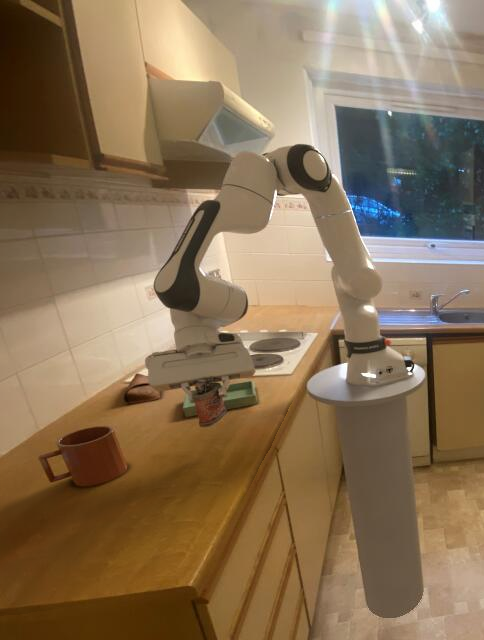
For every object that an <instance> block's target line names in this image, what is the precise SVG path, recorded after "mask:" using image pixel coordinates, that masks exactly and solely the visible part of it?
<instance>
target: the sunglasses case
mask: <svg viewBox="0 0 484 640" xmlns="http://www.w3.org/2000/svg"><path fill="white" fill-rule="evenodd" d="M159 399H161V392H157V391H155V390H154V389H152V388H151V386H150V385H149V382H148V375H144V374H141V373H138V372H137V373H136V374H135V375H134V376H133V378H132V379H131V381H130V382H129V384H128V386H127V388H126V390H125V392H124V395H123V400H124V402H125V403H127V404H129V405H132V404H141V403H146V402H151V401H154V400H159Z"/></svg>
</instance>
